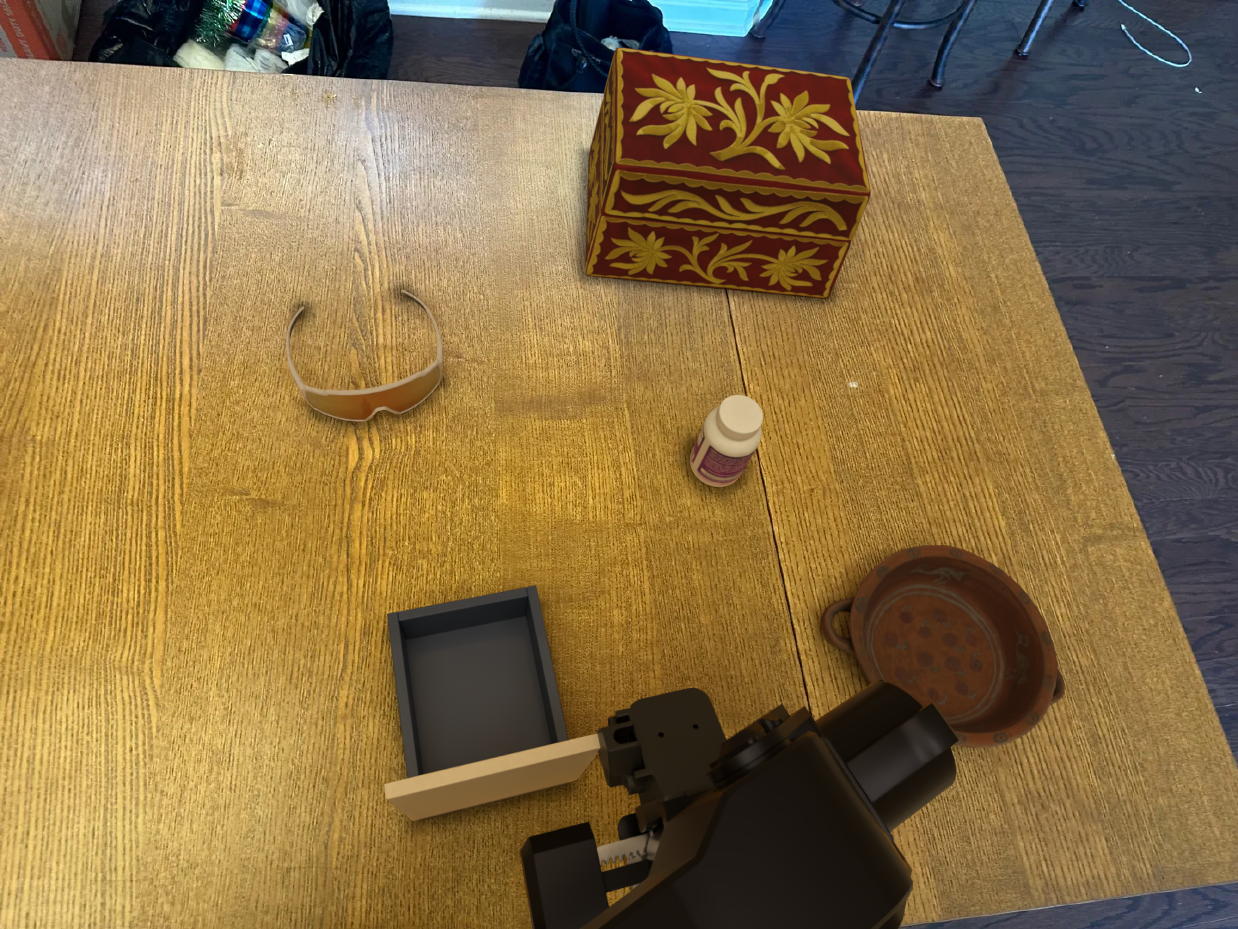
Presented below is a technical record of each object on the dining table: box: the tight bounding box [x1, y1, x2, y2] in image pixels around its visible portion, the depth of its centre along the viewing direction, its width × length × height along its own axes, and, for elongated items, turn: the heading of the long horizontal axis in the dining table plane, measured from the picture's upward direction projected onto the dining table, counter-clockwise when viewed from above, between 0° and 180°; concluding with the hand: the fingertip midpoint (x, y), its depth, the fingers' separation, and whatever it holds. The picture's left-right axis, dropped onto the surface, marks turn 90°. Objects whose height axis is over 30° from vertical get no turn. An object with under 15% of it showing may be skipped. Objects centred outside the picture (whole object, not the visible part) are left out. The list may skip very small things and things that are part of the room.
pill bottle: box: [689, 394, 764, 488], centre depth 75 cm, size 5×5×10 cm
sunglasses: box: [285, 289, 444, 423], centre depth 78 cm, size 14×15×5 cm
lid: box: [383, 733, 600, 822], centre depth 50 cm, size 15×12×1 cm
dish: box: [819, 544, 1066, 749], centre depth 71 cm, size 18×22×5 cm
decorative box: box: [584, 47, 872, 299], centre depth 87 cm, size 28×19×15 cm
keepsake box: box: [386, 584, 571, 822], centre depth 63 cm, size 15×12×6 cm
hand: (664, 861), depth 52 cm, fingers closed
